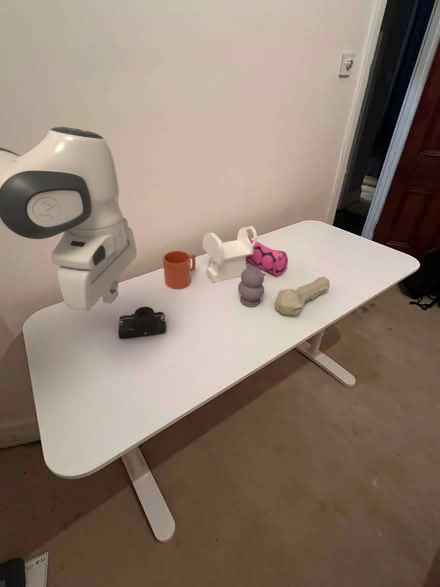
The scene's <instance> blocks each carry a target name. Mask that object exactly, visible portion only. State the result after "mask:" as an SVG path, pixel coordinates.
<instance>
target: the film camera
mask: <svg viewBox="0 0 440 587" xmlns="http://www.w3.org/2000/svg"><path fill="white" fill-rule="evenodd" d="M117 325H118V328H117V329H118V331H117V333H118V334H117V335H118V339H120V340H127V339H136V338H144V337H153V336H154V337H155V336H157V335H158V336H159V335H164V334H166V332H167V326H166V314H165V313H164V312H163V311H156V312H155V310H154V309H153V307H150V306H140V307H139V308H137V309H136V310H135V311H134V312H133V313H131V314H127V315H120V316H119V318H118V324H117Z"/></svg>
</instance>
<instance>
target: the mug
mask: <svg viewBox="0 0 440 587" xmlns="http://www.w3.org/2000/svg"><path fill="white" fill-rule="evenodd" d="M162 265H163V277H164V278H163V279H164V284H165V286H166V287H167V288H169V289H172V290H182V289H186V288H188V287H189V286H190V285H191V283H192V272H194V271H195V270H196V254H195V253H192V254H190V253H188V252H186V251H183V250H172V251H168V252H166V253H165V254H163V256H162Z"/></svg>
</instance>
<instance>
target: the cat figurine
mask: <svg viewBox="0 0 440 587" xmlns="http://www.w3.org/2000/svg"><path fill="white" fill-rule="evenodd" d="M246 265H247V267H246V269H245V270H244V271H243V272H242V274H241V276H240V280H241V281H240V282H239V283H238V285H237V291H238V294H239V296H240V297H239V303H240V304H241V305H242V306H244V307H246V308H257V307H258V306H259V305H260V304H261V298H263V296H264V294H265V286H264V285H263V284H264V282H265V275H266V273H264V272H262V270H261V269H259V268H257V267H255V266H251V264H250V263H247V264H246Z"/></svg>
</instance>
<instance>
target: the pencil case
mask: <svg viewBox="0 0 440 587" xmlns="http://www.w3.org/2000/svg"><path fill="white" fill-rule="evenodd" d="M248 238H249V241H250V243H251V244H252V243H253V241H254V239H252V238H250V236H249V234H248ZM288 258H289V257H288V255H287V252H285V251H283V250H278V249H272V248H270V247H268V246H265V245H264V244H263V243H261V242H259V241H257V243H256V245H255V246H254V252H253V254H251V255H246V261H248V262H250V263H251V264H253V265H255V266H257V267H258V268H260V270H263V271H265V272H267V273H270V274H272V275H274V276H276V277H279V276H281V275H282V274H283V273H284V272H285V271H286V270H287V268H288V265H289V264H288V263H289V259H288Z"/></svg>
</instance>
